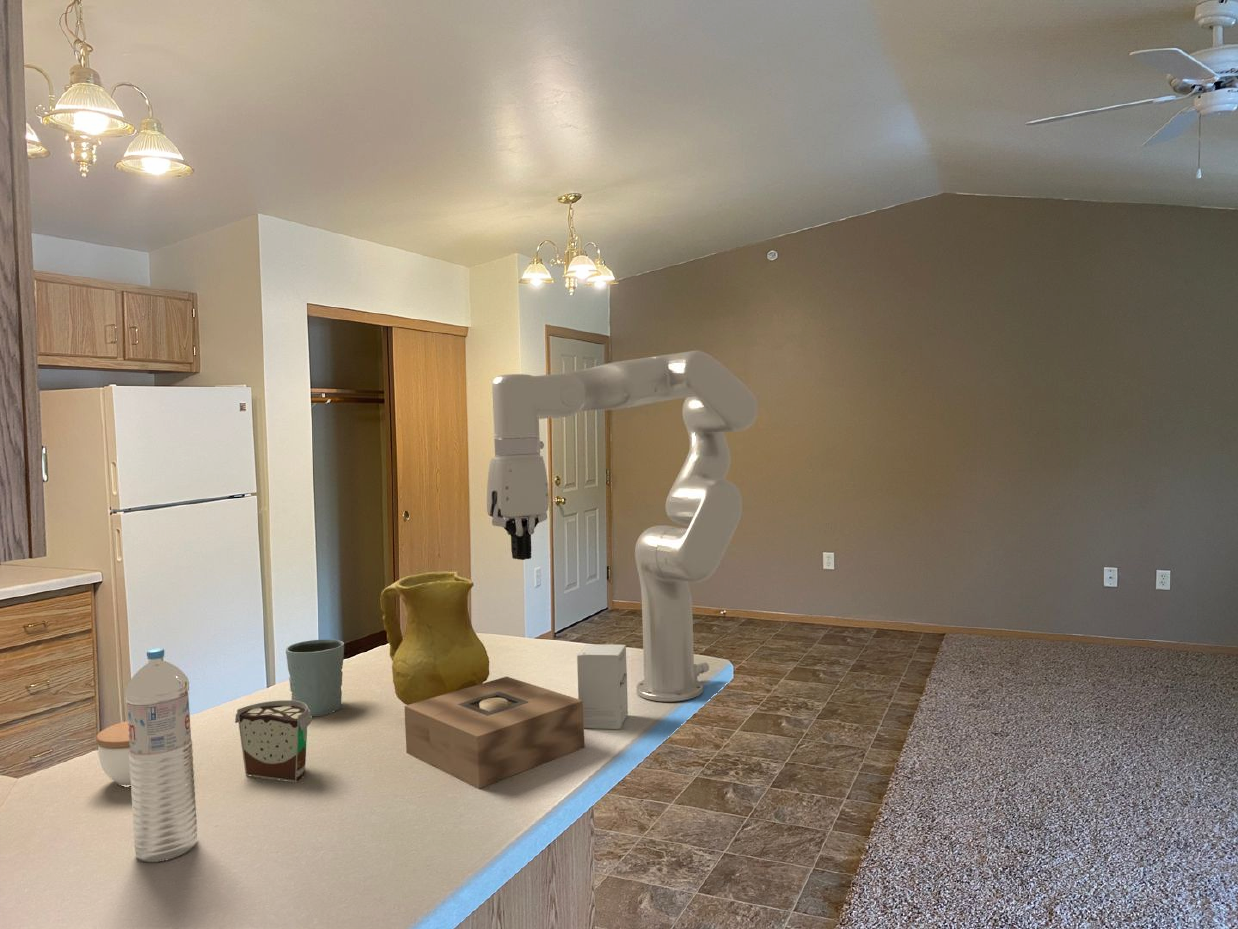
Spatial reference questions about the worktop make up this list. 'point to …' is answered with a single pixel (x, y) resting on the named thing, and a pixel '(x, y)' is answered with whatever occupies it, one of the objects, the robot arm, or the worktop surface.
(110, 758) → the lidded jar
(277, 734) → the food container
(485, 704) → the peg
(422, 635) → the pitcher
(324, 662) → the grey-green cup
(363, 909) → the worktop surface
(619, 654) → the supplement box
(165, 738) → the water bottle
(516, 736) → the peg block
